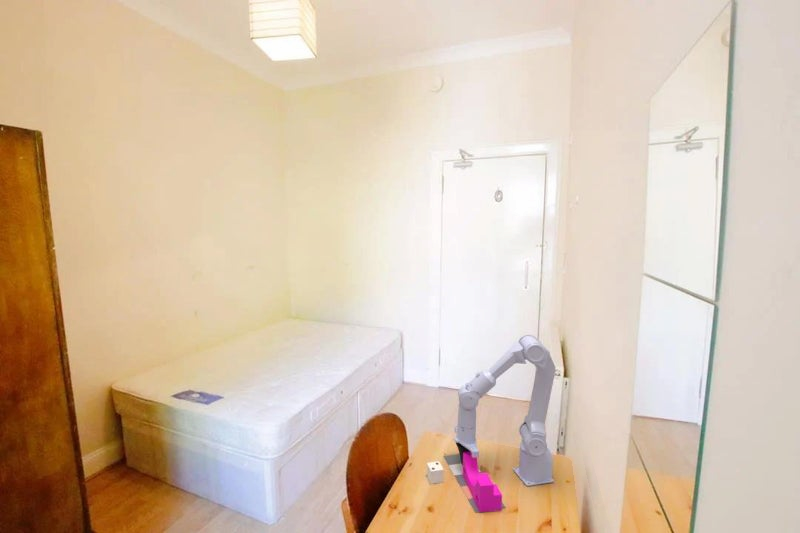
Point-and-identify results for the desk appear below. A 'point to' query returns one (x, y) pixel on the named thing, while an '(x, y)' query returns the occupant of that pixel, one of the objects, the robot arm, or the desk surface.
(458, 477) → the board
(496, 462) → the desk surface
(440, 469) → the die
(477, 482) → the toy block
